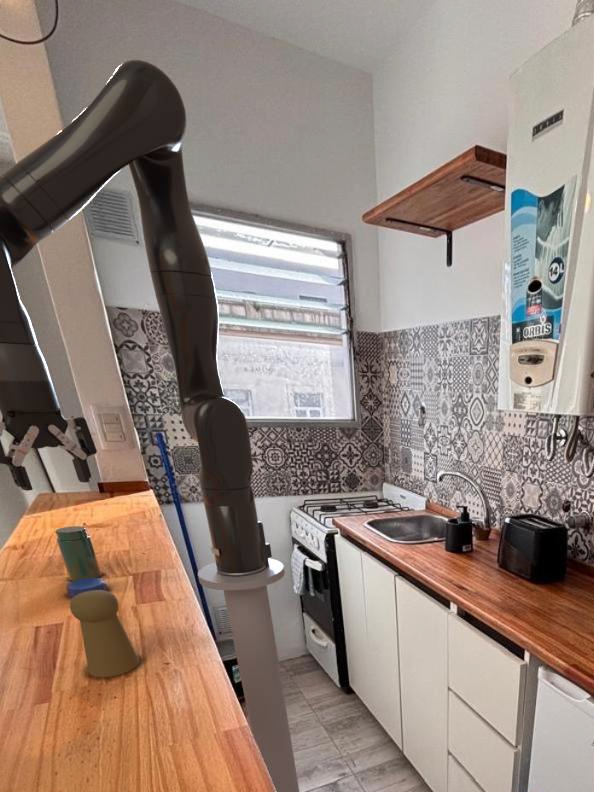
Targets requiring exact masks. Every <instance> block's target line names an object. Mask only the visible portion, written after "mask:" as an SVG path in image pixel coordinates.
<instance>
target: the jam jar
mask: <svg viewBox="0 0 594 792" xmlns="http://www.w3.org/2000/svg"><path fill="white" fill-rule="evenodd" d="M54 533H55V534H56V536H57V538H56V539H55V540H56V543H57V546H58V548H59V552H60V555H61V559H62V561H63V563H64V566H65V569H66V572H67V575H68V578H69V581H71V582H73V581H76V580H81V579H87V578H100V577H102V570H101V567H100V564H99V561H98V558H97V555H96V551H95V548H94V545H93V541H92V539H91V536H90V535H89V534H88V530H87V529H86V527H85V526H80V525H74V526H73V525H72V526H65V527H60V528H57V529H56V530H55V531H54Z"/></svg>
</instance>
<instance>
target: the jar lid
mask: <svg viewBox="0 0 594 792" xmlns="http://www.w3.org/2000/svg"><path fill="white" fill-rule="evenodd" d="M65 587H66V591H67V594H68V596H69V597H70V598H71V599H72V598H73V597H75V596H76V595H78V594H80V593H83V592H87V591H94V590H104V591H108V590H109V588H108V585H107V583H106V580H105V579H104V578H100V577H98V578H87V579H81V580H76V581H71V582H69V583H67V584H66V585H65Z"/></svg>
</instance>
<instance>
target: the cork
mask: <svg viewBox="0 0 594 792" xmlns="http://www.w3.org/2000/svg"><path fill="white" fill-rule="evenodd" d="M69 609H70V612H71V614H72V615H73V617H74V618H75V619H76V620H78V621H79V622H80V623H79V624H80V628H81V629H80V630H81V634H82V640H83V648H84V653H85V659H86V665H87V671H88V674H89V675H90V676H92V677H94V678H110V677H114V676H115V677H116V676H120V675H122V674H126V673H128V672H130V671H133V670H134V669H135V668H136V667H138V666H139V664H140V658H139V656H138V654H137V652H136V650H135V648H134V646H133V644H132V642H131V639H130V638H129V636H128V634H127V632H126V630H125V628H124V626H123V623H122V622H121V620H120V617H119V616H118V612H119V601H118V598H117V597H116V596H115V595H114V593H112V592H111V591H108V590H107V591H104V590H94V591H87V592H83V593H80V594H78V595H76V596H75V597H73V598H71V599H70V602H69Z"/></svg>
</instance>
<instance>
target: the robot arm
mask: <svg viewBox="0 0 594 792" xmlns="http://www.w3.org/2000/svg"><path fill="white" fill-rule="evenodd" d="M187 120H188V119H187V113H186V107H185V103H184V100H183V98H182V95H181V93H180V91H179V89H178V87H177V86H176V84H175V83H174V82H173V81H172V79H171V78H170V77H169V76H168V75H167V74H166V72H164V71H163V70H162V69H161V68H159V67H158V66H156V65H154V64H152V63H150V62H149V61H145V60H141V59H130V60H126V61H123V62H122V63H121V64H120V65H119V66H118V67H117V68H116V69H115V71H114V72H113V74H112V76H111V77H110V78H109V80H108V81H107V82H106V84H105V85H104V86H103V87H102V89H101V90H100V91H99V93H98V94H97V95H96V97H95V98H94V99H93V100H92V101H91V102H90V103H89V104H88V106H87V107H85V108H84V109H83V111H81V113H80V114H78V115H77V116H76V117H75V118H74V119H73V120H72V121H70V122H69V124H68V125H66V126H65V127H63V129H61V130H60V131H58V132H57V133H56V134H55V135H53V136H52V137H50V139H48V140H47V141H45V142H44V143H42V144H41V145H40V146H38V147H37V148H35V149H34V150H33V151H32V152H29V153H28V154H27V155H26V156H24V157H23V158H22V159H20V160H19V161H17V163H14V164H13V165H12V166H11V167H9V168H8V169H7V170H6V171H4V172H3V173H1V175H0V413H1V416H2V417H1V418H2V419H1V421H0V437H3V431H6V433H8V434H9V435H10V436H12V438H11V441H10V443H9V445H8V450H7V453H6V454H5V451H4V450H5V449H4V447H3V444H2V441H1V439H0V464H3V465H6V466H7V467H8V469H9V472H10V475H11V477H12V479H13V482H14V484H15V486H16V487H17V488H21V490H22V491H25V492H29V491H33V486H32V483H31V480H30V477H29V475H28V472H27V468H26V466H24V465H22V464H23V462H24V461H25V460H24V459H25V458H26V456H27V455H28V454H29V453H30V451H31V449H34V450H39V449H43V448H47V447H48V448H58V447H59V448H60V449H62V450H64V452H66V453H67V454H68V455H70V456H71V457H72V459H71V461H72V464H73V467H74V470H75V473H76V477H77V480H78V481H79V482H80V483H90V479H91V478H92V474H91V470H90V466H89V463H88V458H89V457H91V456H92V455H96V454H97V453H98V450H97V447H96V445H95V442H94V439H93V437H92V433H91V430H90V428H89V425H88V421H87V420H86V418H85V417H83V416H74V415H73V416H71V417H68V418H65V417H64V416H63V415H62V412H61V406H60V403H59V400H58V397H57V394H56V390H55V388H54V384H53V381H52V378H51V376H52V375H51V373H50V370H49V368H48V365H47V363H46V360H45V357H44V355H43V353H42V351H41V349H40V347H39V343H38V341H37V337H36V333H35V330H34V328H33V325H32V321H31V319H30V316H29V313H28V311H27V309H26V308H25V306H24V304H23V303H22V301H21V298H20V295H19V291H18V288H17V285H16V280H15V277H14V275H13V271H12V270H13V269H14V268H16V267H17V266H18V265H19V264H21V262H22V261H23V260H24V259H25V258H26V257H27V256H28V254H30V253H31V252H32V250H33V249H34V248H35V247H36V246H37V245H38V243H40V242H41V241H42V240H44V239H47V238H48V237H49V236H51V235H52V234H54V233H55V232H56V231H58V230H59V229H61V227H63V226H65V225H66V224H67V223H68V222H69V221H70V220H72V219H73V218H74V217H75V216H76V215H78V213H80V212H81V211H82V210H83V209H84V208H85V207H86V206H87V205H88V204H89V203H90V202H91V201H92V200H93V198H94V197H95V196H97V194H98V193H99V192H100V191H101V190H102V188H104V186H106V184H107V183H108V182H109V181H110V180H111V179H112V178H113V177H114V176H116V175H117V174H118V173H119V172H120V171H121V170H123V169H124V168H126V167H127V166H128V167H129V170H130V175H131V177H132V180H133V184H134V187H135V192H136V195H137V200H138V205H139V206H138V207H139V211H140V219H141V220H140V221H141V228H142V235H143V241H144V248H145V252H146V257H147V263H148V268H149V273H150V277H151V281H152V282H151V283H152V286H153V290H154V294H155V295H154V296H155V299H156V302H157V305H158V309H159V312H160V316H161V321H162V325H163V328H164V333H165V336H166V337H165V338H166V340H167V344H168V347H169V351H170V354H171V357H172V361H173V366H174V371H175V377H176V384H177V385H176V386H177V393H178V400H179V408H180V415H181V421H182V424H183V427H184V429H185V431H186V433H187V435H189V437H190V438H191V439H193V440H194V441H195V442H197V446H198V451H199V459H200V469H199V471H198V475H197V476H198V481H199V486H200V490H201V491H200V492H201V496H202V502H203V506H204V510H205V515H206V519H207V520H206V521H207V526H208V530H209V535H210V541H211V546H210V549H211V550H210V551H211V553H212V554H213V556H214V560H215V561H214V562H216V566H217V572H218V573H219V574H220V575H224V576H230V577H239V576H248V575H253V574H257V573H259V572H262V571H263V570H265V568H266V567H269V561H268V558H270V559H271V558H272V557H273V555H272V549H271V548H272V547H271V544H270V543H268V542H266V535H265V531H264V524H263V522H262V521H259V519H258V518H259V517H258V512H257V506H256V499H255V493H254V487H253V481H252V475H253V471H254V462H253V452H252V444H251V436H250V430H249V425H248V421H247V418H246V416H245V413H244V412H243V410H242V408H240V406H239V405H238V404H236V402H234V401H233V400H231V399H229V398H227V397H225V394H224V391H223V386H222V382H221V378H220V373H219V372H220V371H219V365H218V344H219V328H220V318H219V317H220V316H219V314H220V313H219V304H218V297H217V294H216V288H215V282H214V278H213V276H214V275H213V273H212V268H211V264H210V261H209V258H208V254H207V251H206V248H205V245H204V242H203V239H202V237H201V234H200V231H199V229H198V226H197V223H196V221H195V218H194V216H193V212H192V208H191V205H190V201H189V194H188V189H187V182H186V175H185V167H184V157H183V142H184V139H185V137H186V133H187ZM68 428H70V430H71V431H73V432H74V433H75V436H76V439H77V442H78V444H79V447H80V448H79V447H78V446H77V444H76V443H75V442H74V441H73V440H72V439H70V438H69V437H68V436H67V435H66V432H67V430H68Z"/></svg>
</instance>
